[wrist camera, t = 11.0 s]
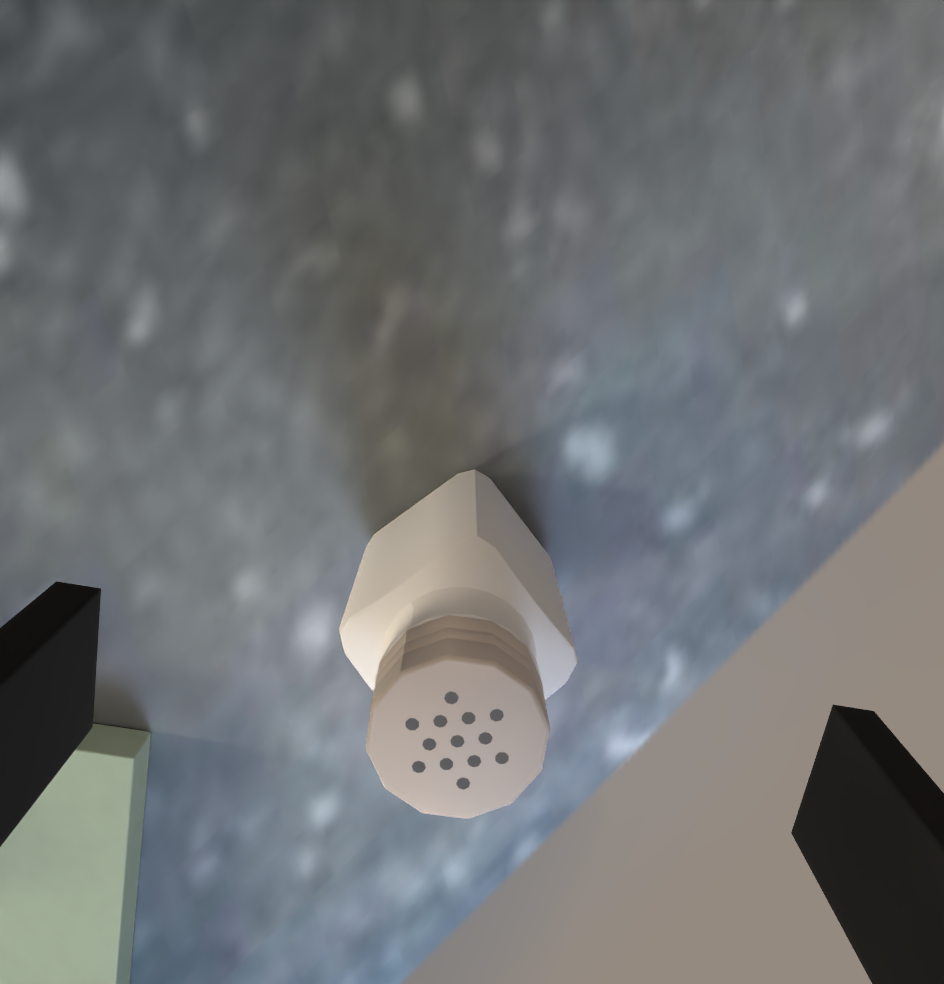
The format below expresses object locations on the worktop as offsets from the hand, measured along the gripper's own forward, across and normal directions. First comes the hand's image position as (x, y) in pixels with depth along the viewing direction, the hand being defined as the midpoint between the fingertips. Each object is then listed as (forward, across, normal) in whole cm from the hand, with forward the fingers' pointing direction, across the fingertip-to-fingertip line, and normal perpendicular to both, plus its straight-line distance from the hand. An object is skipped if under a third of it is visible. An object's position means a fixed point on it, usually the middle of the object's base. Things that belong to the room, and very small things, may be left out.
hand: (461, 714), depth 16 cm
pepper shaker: (+9, 0, 0) cm, 9 cm away
